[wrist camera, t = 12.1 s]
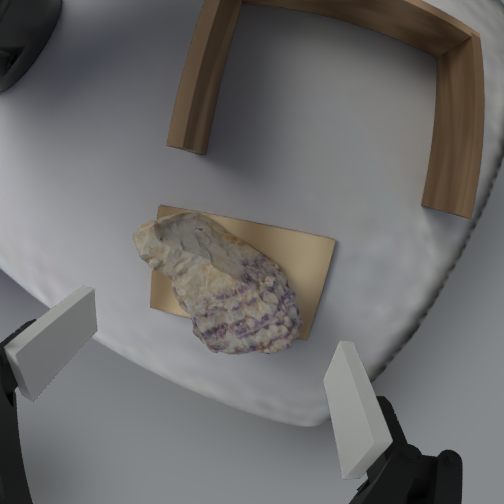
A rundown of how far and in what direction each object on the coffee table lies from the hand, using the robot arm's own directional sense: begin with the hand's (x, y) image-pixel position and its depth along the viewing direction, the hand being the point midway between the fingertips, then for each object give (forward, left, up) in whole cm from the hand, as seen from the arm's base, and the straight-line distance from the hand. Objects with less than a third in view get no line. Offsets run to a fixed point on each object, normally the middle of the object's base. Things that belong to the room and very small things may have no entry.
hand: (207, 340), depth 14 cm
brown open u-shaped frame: (+5, +17, -10) cm, 20 cm away
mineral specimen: (0, 0, -10) cm, 10 cm away
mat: (0, 0, -10) cm, 10 cm away
